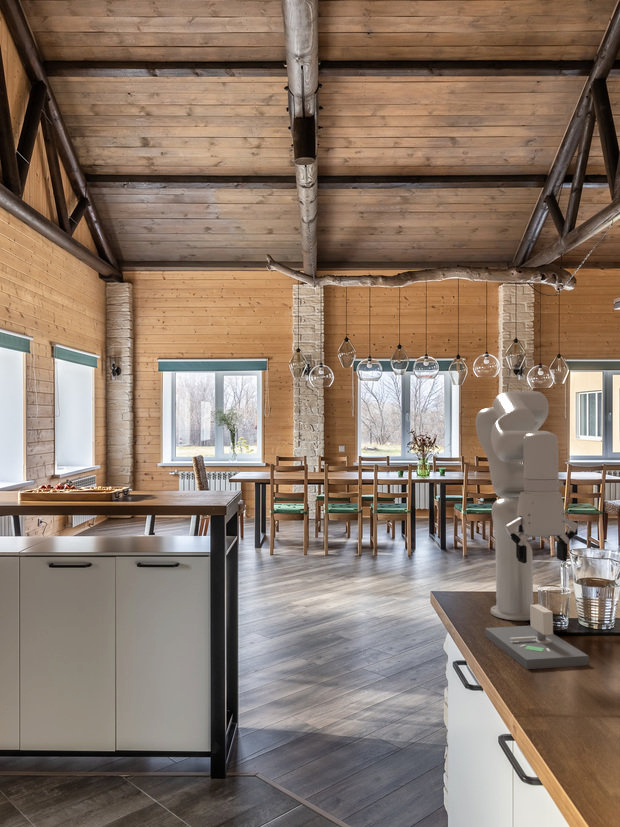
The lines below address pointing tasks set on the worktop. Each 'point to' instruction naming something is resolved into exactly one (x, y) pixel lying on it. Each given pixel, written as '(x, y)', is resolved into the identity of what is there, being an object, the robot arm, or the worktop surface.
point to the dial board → (536, 648)
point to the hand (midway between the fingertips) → (542, 561)
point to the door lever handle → (539, 623)
